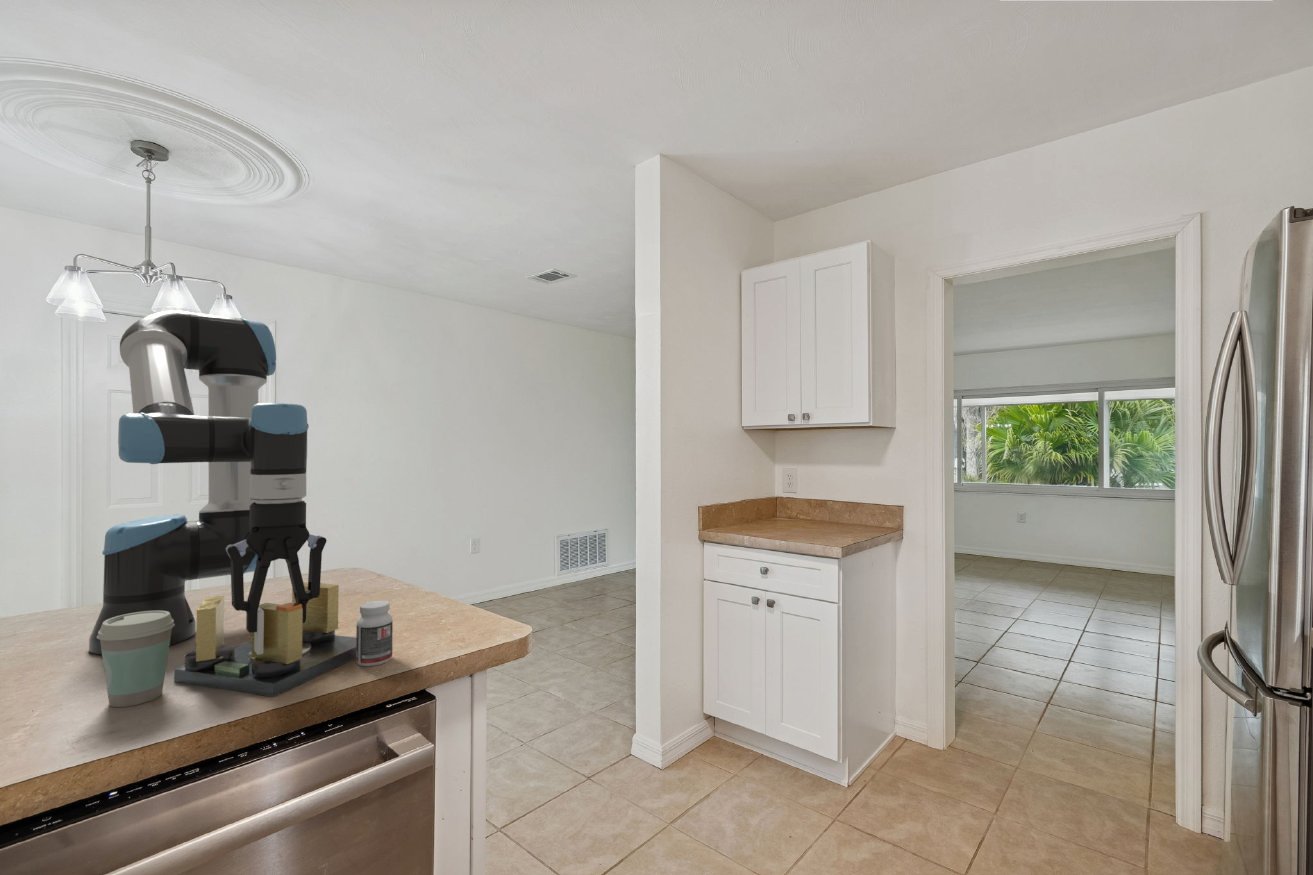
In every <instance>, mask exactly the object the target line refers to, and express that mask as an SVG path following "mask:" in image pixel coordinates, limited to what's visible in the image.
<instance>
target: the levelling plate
mask: <svg viewBox="0 0 1313 875" xmlns="http://www.w3.org/2000/svg"><path fill="white" fill-rule="evenodd" d="M234 647H235V646H234ZM251 654H252V641H249V642H247V643H244V644H241V645H237V646H236V647H235V661H234V662H228V661H224V662H221V663H218V664H216V665H215V670H210V671H204V672H188V671H186V670H185V664H184V665H182V666H179V667H176V668H174V674H173V676H174V678H173V682H175V683H181V684H189V685H194V686H200V687H206V688H214V689H221V690H226V691H232V692H238V693H243V694H251V695H257V696H263V697H265V696H266V697H271V698H275V697H277V696H279V695H282V694H283V693H285V692H287V691H290V690H291V689H294V688H295V687H297V686H300V685H302V684H304V683H306V682H309V681H310V680H313V679H314V678H315V679H316V678H317V677H319V676H322V675H323V674H326V673H328V672H331V671H332V670H334V669H337V668H338V667H340V666H342V665H344V664H347V663H349V662H351V661H352V660H356V637H355V636H354V637H353V636H346V635H337V634H335V638H334V639H333V640H331V641H329V642H326V643H322V644H318V645H311V643H309V642H302V659H300V668H299V669H298V670H297V671H295V672H293V673H291V674H288V675H285V676H281V677H276V678H269V679H258V678H254V677H252V661H253V660H254V659H255V658H254V657H251Z"/></svg>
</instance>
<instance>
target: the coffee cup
mask: <svg viewBox="0 0 1313 875" xmlns="http://www.w3.org/2000/svg"><path fill="white" fill-rule="evenodd" d="M173 622H174V620H173V619H172V618H171V615H170V612H168V611H143V612H136V613H130V614H125V615H120V616H116V617H113V618H110V619H108V620H106V621H104V622H103V623H102V626H101V629H100V630H99V631H98V636H97V639H100V643H101V650H102V654H101V657H102V664H103V671H104V678H105V683H106V684H105V685H106V690H107V691H106V692H107V697H108V698H107V700H108V705H109V706H110V707H112V708H126V707H132V706H133V707H134V706H137V705H141V704H142V705H143V704H144V703H148V702H151V701H153V700H155V699H157V698H158V697H160V696H161V695H162V693H163V688H164V682H165V681H164V680H165V675H166V670H167V662H168V657H169V649H170V645H169V644H170V638H171V631H172V628H173V627H174V625H175V624H174V623H173Z"/></svg>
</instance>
